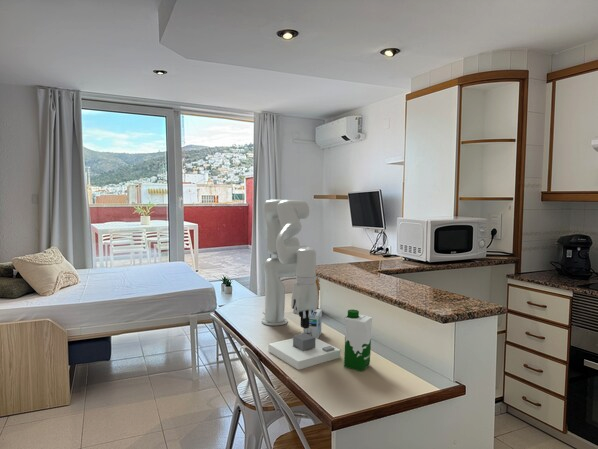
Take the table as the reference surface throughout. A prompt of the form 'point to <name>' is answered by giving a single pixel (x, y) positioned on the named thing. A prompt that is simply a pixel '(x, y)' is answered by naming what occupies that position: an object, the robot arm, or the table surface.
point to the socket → (304, 353)
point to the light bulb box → (314, 324)
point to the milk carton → (357, 340)
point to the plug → (304, 341)
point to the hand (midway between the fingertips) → (304, 327)
